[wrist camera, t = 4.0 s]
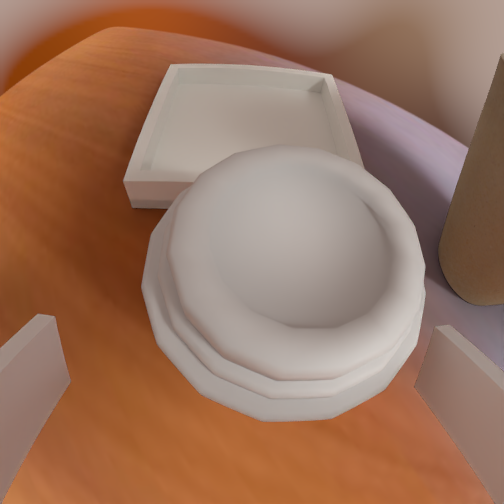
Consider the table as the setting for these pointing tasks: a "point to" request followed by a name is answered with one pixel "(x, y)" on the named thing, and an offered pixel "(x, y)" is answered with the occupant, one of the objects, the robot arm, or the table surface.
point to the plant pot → (479, 210)
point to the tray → (231, 123)
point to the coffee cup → (286, 284)
